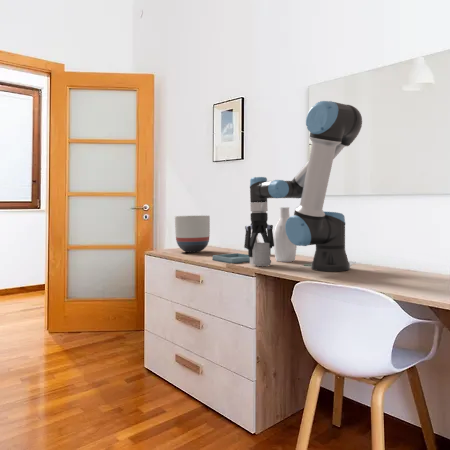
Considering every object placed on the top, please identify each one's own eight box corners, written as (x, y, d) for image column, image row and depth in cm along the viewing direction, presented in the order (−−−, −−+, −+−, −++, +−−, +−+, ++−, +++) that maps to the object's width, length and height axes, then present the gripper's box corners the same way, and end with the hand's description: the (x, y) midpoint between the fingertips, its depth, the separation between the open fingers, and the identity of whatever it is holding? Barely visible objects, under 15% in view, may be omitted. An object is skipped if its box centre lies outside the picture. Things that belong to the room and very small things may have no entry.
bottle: (301, 261, 197) (300, 207, 196) (278, 262, 195) (277, 207, 193) (291, 258, 208) (290, 207, 207) (270, 260, 205) (269, 207, 204)
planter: (214, 250, 257) (213, 215, 256) (204, 254, 237) (204, 216, 236) (182, 250, 262) (181, 215, 261) (170, 254, 242) (169, 216, 241)
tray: (258, 261, 202) (258, 256, 202) (232, 263, 194) (232, 258, 194) (237, 257, 217) (237, 253, 217) (212, 260, 209) (212, 255, 209)
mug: (260, 267, 181) (259, 239, 181) (245, 264, 192) (245, 237, 191) (274, 265, 185) (274, 238, 185) (259, 262, 195) (259, 237, 195)
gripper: (271, 211, 196) (272, 260, 197) (235, 212, 185) (236, 264, 186) (282, 211, 190) (282, 262, 191) (244, 212, 179) (245, 266, 180)
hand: (259, 263), depth 188 cm, fingers closed on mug, 7 cm apart
